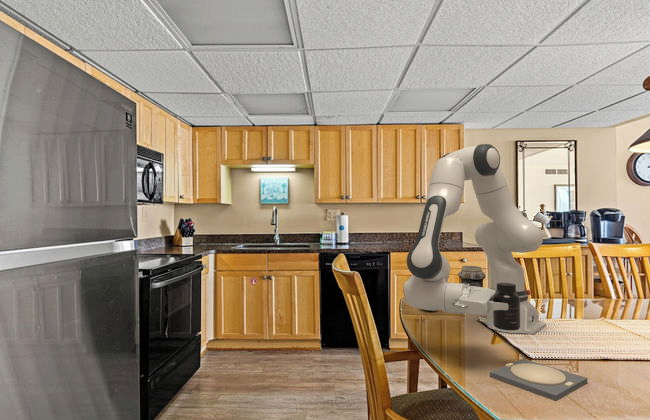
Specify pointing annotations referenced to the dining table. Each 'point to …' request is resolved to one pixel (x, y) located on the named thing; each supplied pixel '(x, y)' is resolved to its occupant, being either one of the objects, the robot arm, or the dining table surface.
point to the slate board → (539, 378)
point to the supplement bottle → (512, 315)
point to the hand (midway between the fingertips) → (510, 303)
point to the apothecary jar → (472, 275)
